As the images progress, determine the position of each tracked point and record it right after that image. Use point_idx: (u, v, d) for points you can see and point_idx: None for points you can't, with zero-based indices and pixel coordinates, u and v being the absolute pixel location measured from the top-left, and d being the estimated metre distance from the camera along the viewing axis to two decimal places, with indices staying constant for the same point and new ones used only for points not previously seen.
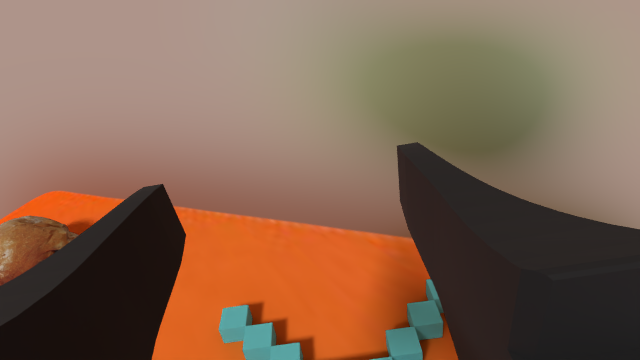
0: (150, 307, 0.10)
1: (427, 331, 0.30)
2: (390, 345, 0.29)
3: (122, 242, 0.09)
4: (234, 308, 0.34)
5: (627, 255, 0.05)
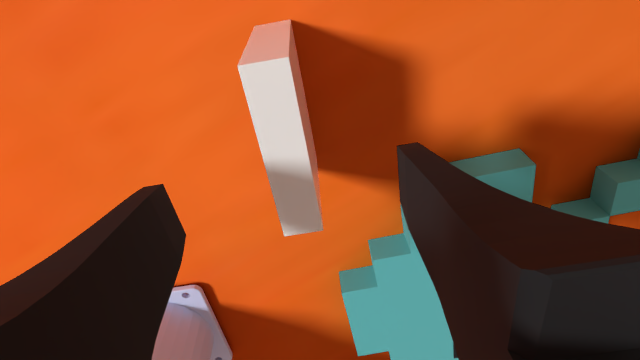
0: (150, 307, 0.10)
1: None
2: None
3: (122, 242, 0.09)
4: None
5: (627, 254, 0.05)
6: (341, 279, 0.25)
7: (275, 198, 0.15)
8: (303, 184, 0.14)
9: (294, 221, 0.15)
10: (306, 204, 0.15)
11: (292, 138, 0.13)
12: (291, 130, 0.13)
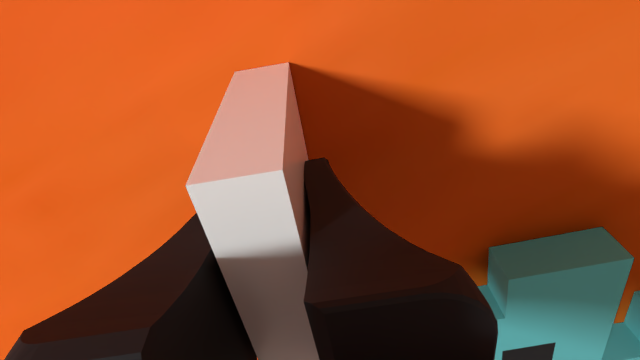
0: None
1: None
2: None
3: None
4: None
5: (401, 287, 0.05)
6: None
7: None
8: (309, 347, 0.09)
9: None
10: None
11: (290, 289, 0.08)
12: (288, 278, 0.08)
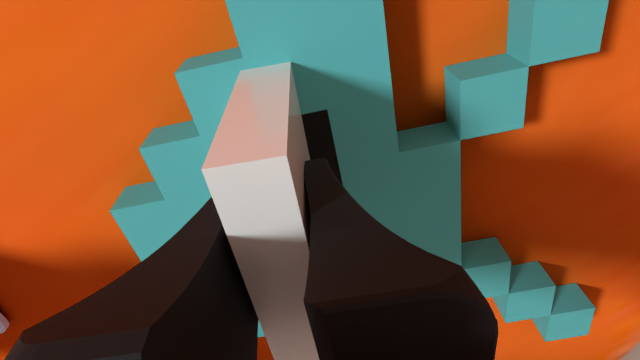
0: None
1: None
2: (481, 267, 0.18)
3: None
4: None
5: (401, 288, 0.05)
6: (122, 194, 0.16)
7: (268, 337, 0.10)
8: None
9: None
10: (313, 343, 0.10)
11: (293, 265, 0.09)
12: (291, 255, 0.08)
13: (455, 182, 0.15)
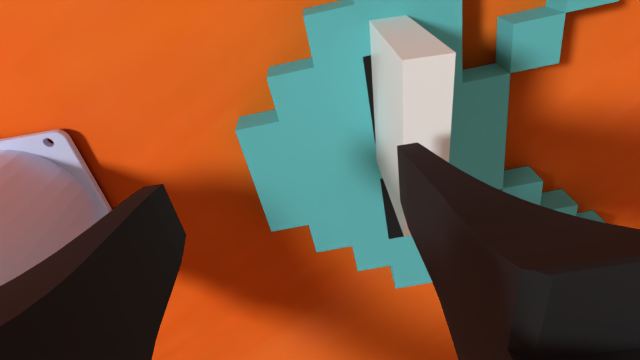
0: (150, 307, 0.10)
1: None
2: (518, 186, 0.22)
3: (122, 242, 0.09)
4: None
5: (626, 254, 0.05)
6: (239, 120, 0.20)
7: None
8: None
9: None
10: None
11: (438, 136, 0.13)
12: (439, 128, 0.13)
13: (503, 109, 0.19)
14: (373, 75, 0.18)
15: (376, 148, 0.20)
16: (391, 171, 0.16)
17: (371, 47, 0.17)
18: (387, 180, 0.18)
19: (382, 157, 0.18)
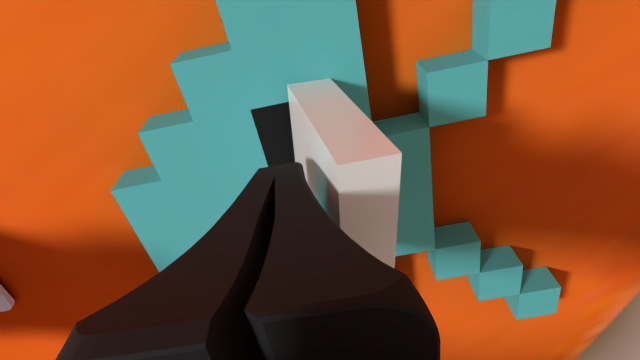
0: None
1: (473, 274, 0.21)
2: (453, 247, 0.19)
3: (266, 220, 0.09)
4: None
5: (339, 297, 0.05)
6: (122, 176, 0.17)
7: None
8: None
9: None
10: None
11: (382, 243, 0.11)
12: (383, 235, 0.11)
13: (426, 166, 0.16)
14: (295, 146, 0.15)
15: None
16: None
17: (291, 114, 0.14)
18: None
19: None
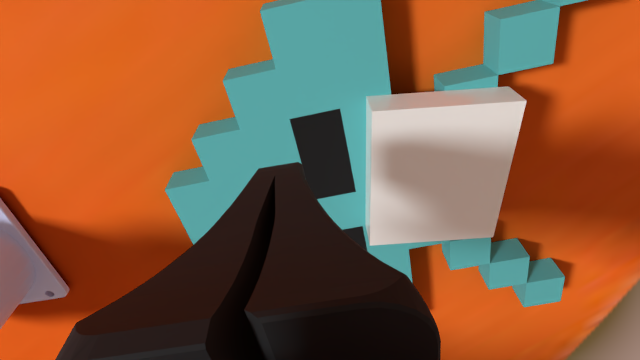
0: None
1: (483, 265, 0.23)
2: (466, 240, 0.21)
3: (266, 220, 0.09)
4: None
5: (340, 297, 0.05)
6: (172, 177, 0.19)
7: (500, 205, 0.18)
8: None
9: None
10: None
11: None
12: None
13: None
14: (380, 161, 0.16)
15: (373, 232, 0.18)
16: (453, 211, 0.18)
17: (376, 136, 0.16)
18: (430, 231, 0.19)
19: (408, 223, 0.18)
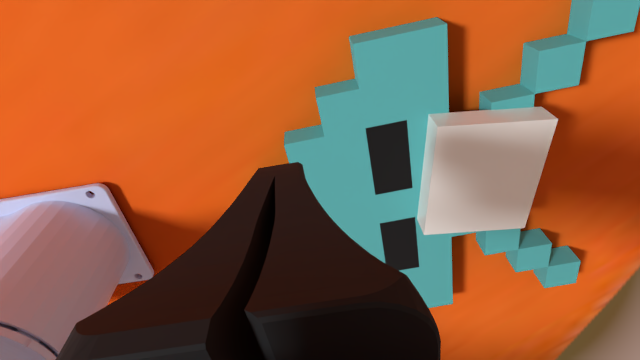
0: None
1: (511, 251, 0.27)
2: None
3: (266, 220, 0.09)
4: (635, 6, 0.18)
5: (339, 297, 0.05)
6: None
7: (532, 201, 0.22)
8: None
9: None
10: None
11: None
12: None
13: None
14: (439, 166, 0.20)
15: (427, 223, 0.23)
16: (494, 207, 0.22)
17: (439, 146, 0.20)
18: (474, 223, 0.23)
19: (457, 216, 0.22)
